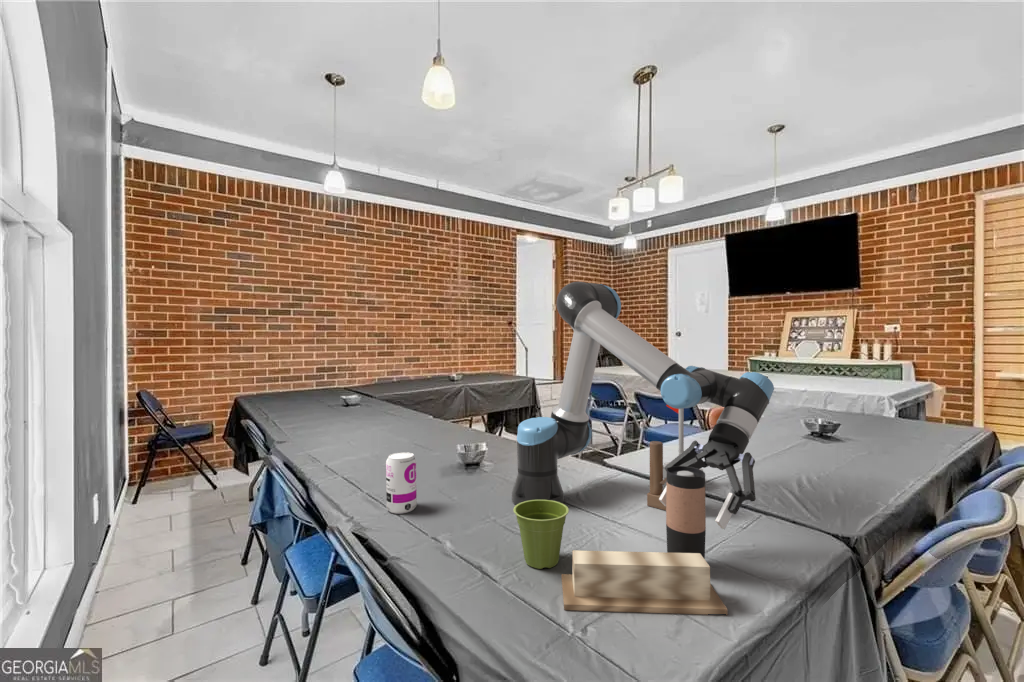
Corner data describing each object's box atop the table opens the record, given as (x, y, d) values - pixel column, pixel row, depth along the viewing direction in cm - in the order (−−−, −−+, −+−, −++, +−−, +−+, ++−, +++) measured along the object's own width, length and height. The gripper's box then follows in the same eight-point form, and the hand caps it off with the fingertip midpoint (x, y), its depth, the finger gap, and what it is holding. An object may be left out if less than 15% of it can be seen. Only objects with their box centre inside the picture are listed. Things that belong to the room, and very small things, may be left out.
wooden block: (684, 516, 119) (684, 448, 119) (646, 506, 126) (646, 442, 126) (690, 512, 122) (690, 446, 121) (652, 502, 129) (652, 440, 129)
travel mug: (660, 558, 97) (660, 466, 97) (694, 556, 98) (694, 465, 97) (676, 577, 89) (676, 477, 89) (713, 575, 90) (713, 476, 90)
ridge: (564, 609, 79) (563, 570, 79) (561, 579, 89) (561, 544, 89) (727, 615, 77) (727, 574, 77) (706, 582, 87) (706, 547, 87)
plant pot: (571, 550, 101) (571, 500, 101) (565, 578, 89) (565, 522, 89) (520, 545, 103) (519, 496, 103) (508, 572, 92) (507, 517, 92)
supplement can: (422, 505, 128) (421, 453, 128) (403, 516, 120) (403, 461, 120) (399, 501, 131) (399, 450, 131) (380, 511, 124) (379, 457, 124)
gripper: (797, 454, 91) (756, 546, 84) (691, 432, 113) (650, 504, 105) (783, 431, 88) (739, 525, 81) (677, 413, 110) (634, 486, 102)
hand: (689, 513), depth 93 cm, fingers open, 13 cm apart
